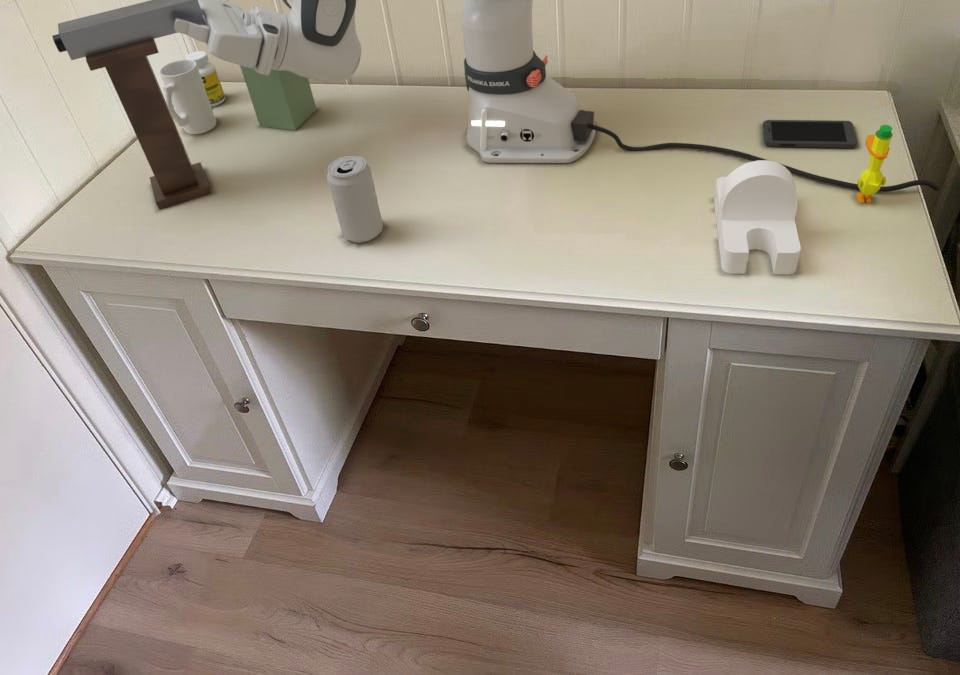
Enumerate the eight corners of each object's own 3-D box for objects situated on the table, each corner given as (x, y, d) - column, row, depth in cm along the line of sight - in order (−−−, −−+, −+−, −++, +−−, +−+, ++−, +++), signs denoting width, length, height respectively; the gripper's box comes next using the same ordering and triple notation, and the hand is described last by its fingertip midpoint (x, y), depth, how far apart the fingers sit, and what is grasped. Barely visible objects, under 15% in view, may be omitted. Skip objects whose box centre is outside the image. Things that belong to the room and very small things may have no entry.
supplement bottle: (201, 110, 157) (183, 64, 150) (197, 100, 161) (180, 53, 154) (228, 103, 158) (211, 56, 151) (223, 92, 162) (207, 46, 155)
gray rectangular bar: (201, 15, 123) (192, -11, 120) (206, 25, 119) (197, -2, 117) (62, 52, 118) (49, 25, 115) (63, 62, 115) (49, 35, 112)
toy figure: (844, 186, 117) (863, 112, 109) (869, 184, 116) (890, 110, 108) (857, 212, 112) (878, 137, 104) (883, 211, 112) (906, 136, 103)
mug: (194, 117, 155) (171, 59, 147) (224, 118, 153) (202, 59, 145) (167, 143, 148) (142, 84, 140) (199, 145, 147) (175, 85, 138)
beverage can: (336, 243, 120) (317, 175, 111) (353, 218, 124) (335, 152, 116) (374, 247, 118) (358, 179, 110) (390, 222, 122) (375, 154, 114)
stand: (206, 168, 140) (148, 24, 122) (214, 192, 134) (155, 44, 116) (149, 185, 138) (83, 41, 120) (155, 210, 132) (86, 62, 114)
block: (316, 109, 152) (294, 28, 141) (295, 130, 147) (271, 47, 136) (281, 106, 155) (257, 25, 144) (259, 126, 150) (233, 44, 138)
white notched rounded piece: (722, 273, 106) (731, 207, 98) (713, 197, 118) (721, 133, 111) (797, 274, 104) (812, 207, 97) (780, 197, 117) (793, 132, 109)
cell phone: (857, 148, 123) (858, 144, 123) (763, 146, 126) (764, 142, 126) (851, 124, 128) (852, 120, 128) (762, 123, 131) (762, 119, 131)
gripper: (252, -2, 132) (165, -28, 124) (279, 39, 118) (183, 14, 110) (244, 35, 135) (158, 12, 127) (269, 80, 121) (175, 57, 113)
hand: (170, 13), depth 119 cm, fingers open, 8 cm apart
